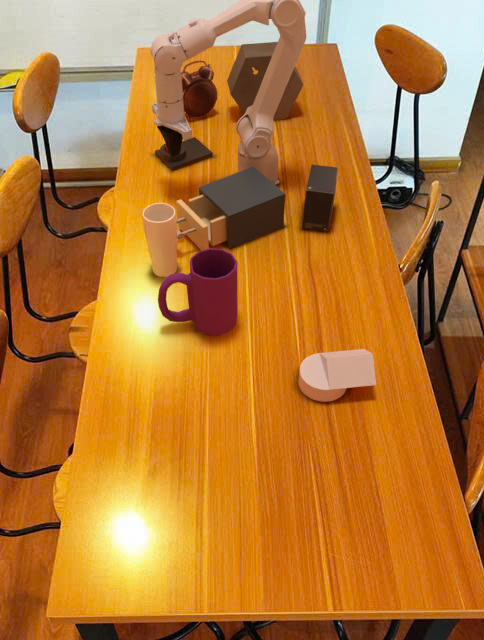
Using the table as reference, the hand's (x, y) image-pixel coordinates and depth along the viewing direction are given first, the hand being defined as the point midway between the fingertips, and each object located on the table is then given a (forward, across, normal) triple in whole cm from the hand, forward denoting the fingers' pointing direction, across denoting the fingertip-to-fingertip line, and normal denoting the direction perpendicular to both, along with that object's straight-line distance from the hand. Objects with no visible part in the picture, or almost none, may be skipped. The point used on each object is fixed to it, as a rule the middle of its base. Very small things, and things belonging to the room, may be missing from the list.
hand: (174, 154), depth 159 cm
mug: (+11, +41, -19) cm, 47 cm away
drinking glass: (+11, +23, -17) cm, 31 cm away
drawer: (+9, +19, -3) cm, 21 cm away
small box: (+11, +27, +22) cm, 36 cm away
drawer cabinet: (+10, +19, +6) cm, 22 cm away
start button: (+8, -13, +7) cm, 17 cm away
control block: (+10, -13, +10) cm, 19 cm away
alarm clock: (+11, -28, +23) cm, 38 cm away
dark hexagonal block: (+11, -19, +39) cm, 44 cm away
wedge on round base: (+11, +68, -6) cm, 70 cm away
